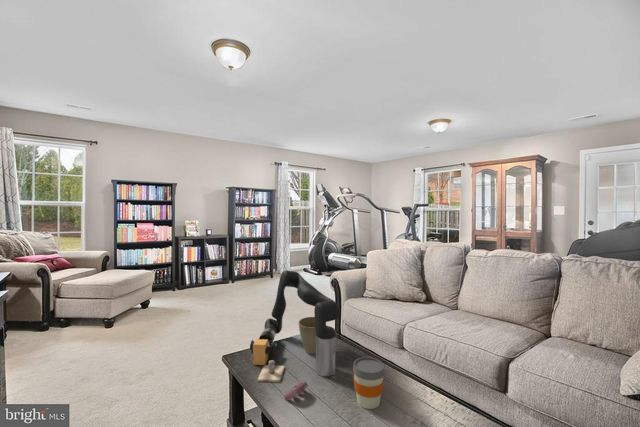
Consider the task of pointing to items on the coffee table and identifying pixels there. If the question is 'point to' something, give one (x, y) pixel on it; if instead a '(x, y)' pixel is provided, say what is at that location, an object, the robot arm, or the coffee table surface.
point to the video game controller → (296, 390)
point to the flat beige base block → (271, 373)
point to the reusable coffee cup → (368, 381)
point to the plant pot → (308, 334)
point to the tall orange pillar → (260, 352)
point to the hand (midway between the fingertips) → (259, 352)
